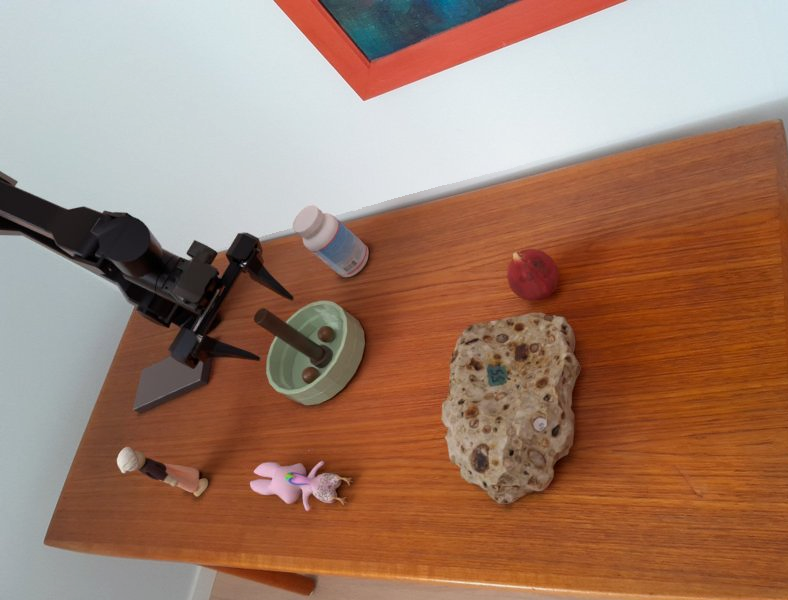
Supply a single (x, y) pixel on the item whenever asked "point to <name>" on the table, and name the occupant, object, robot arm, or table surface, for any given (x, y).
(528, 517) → the table surface
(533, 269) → the onion
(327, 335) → the hazelnut
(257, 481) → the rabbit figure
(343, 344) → the bowl
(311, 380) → the hazelnut
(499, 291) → the table surface
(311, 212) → the pill bottle
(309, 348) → the muddler
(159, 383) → the rest
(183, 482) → the grandmother figurine
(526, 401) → the rock
